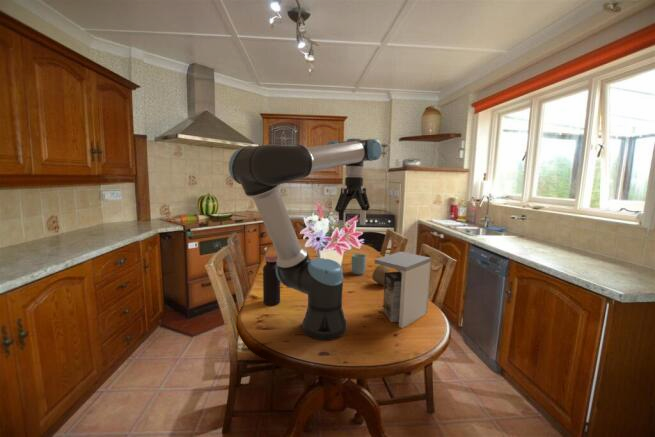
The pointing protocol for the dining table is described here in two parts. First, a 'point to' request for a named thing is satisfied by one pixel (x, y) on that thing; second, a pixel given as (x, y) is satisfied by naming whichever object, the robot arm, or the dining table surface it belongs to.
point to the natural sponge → (380, 274)
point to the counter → (410, 284)
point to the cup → (358, 263)
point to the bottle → (271, 281)
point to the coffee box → (392, 295)
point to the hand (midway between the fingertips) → (352, 226)
